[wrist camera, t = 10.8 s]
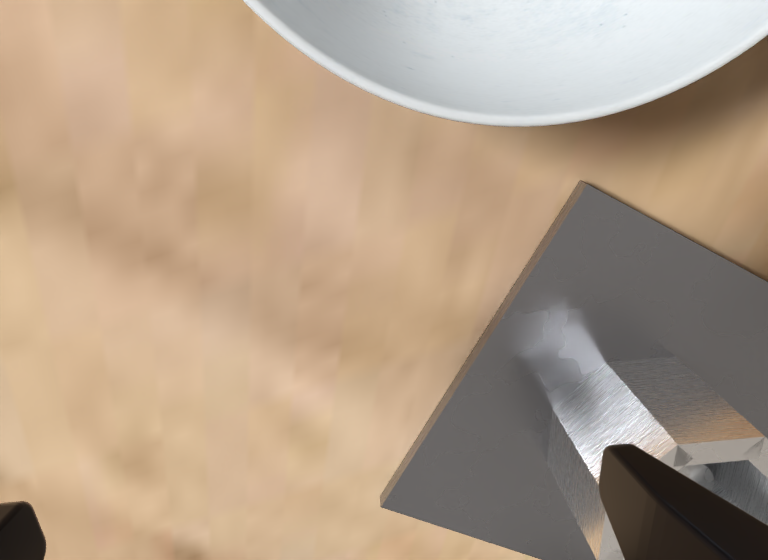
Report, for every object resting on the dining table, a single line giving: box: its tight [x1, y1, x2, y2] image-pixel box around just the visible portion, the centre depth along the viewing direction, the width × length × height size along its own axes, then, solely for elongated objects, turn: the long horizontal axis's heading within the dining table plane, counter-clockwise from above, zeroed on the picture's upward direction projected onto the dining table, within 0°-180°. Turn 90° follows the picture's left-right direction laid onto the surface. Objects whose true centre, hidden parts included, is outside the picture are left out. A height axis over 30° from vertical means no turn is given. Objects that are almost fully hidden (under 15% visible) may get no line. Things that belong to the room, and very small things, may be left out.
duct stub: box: [380, 181, 768, 560], centre depth 22 cm, size 16×16×4 cm
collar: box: [547, 356, 768, 560], centre depth 21 cm, size 7×8×5 cm
